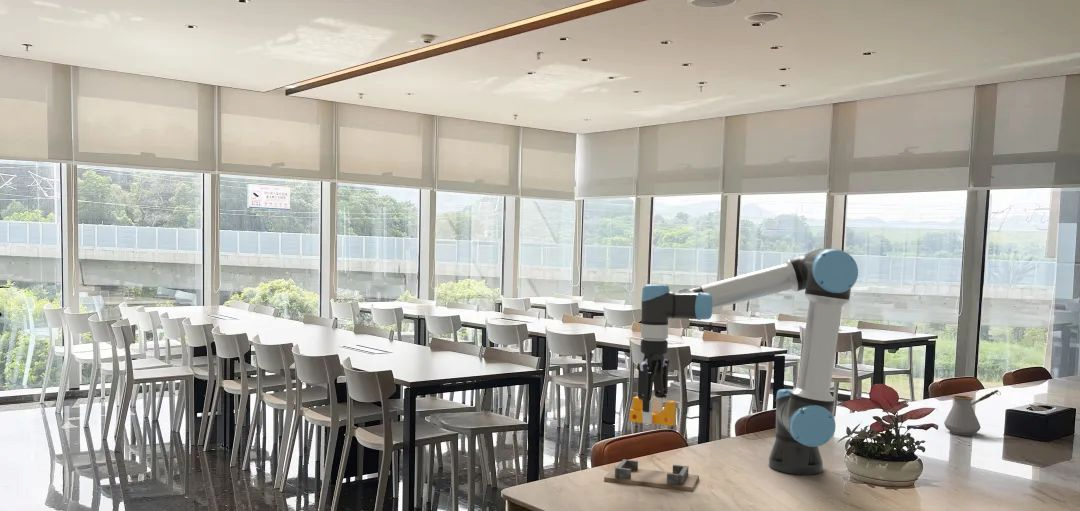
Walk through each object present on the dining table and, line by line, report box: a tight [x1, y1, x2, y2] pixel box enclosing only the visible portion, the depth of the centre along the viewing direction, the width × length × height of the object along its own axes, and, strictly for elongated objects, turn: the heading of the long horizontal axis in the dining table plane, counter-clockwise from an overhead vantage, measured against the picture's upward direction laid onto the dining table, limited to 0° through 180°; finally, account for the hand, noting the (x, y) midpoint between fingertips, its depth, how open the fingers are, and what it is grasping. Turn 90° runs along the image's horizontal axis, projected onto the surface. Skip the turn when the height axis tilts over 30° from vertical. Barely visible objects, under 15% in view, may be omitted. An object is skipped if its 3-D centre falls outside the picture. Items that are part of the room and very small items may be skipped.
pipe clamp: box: [629, 395, 677, 427], centre depth 223 cm, size 12×4×6 cm, turn 57°
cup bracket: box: [603, 458, 700, 492], centre depth 218 cm, size 24×12×4 cm, turn 71°
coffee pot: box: [943, 389, 1002, 436], centre depth 283 cm, size 21×12×15 cm, turn 104°
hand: (652, 421), depth 223 cm, fingers closed on pipe clamp, 5 cm apart
